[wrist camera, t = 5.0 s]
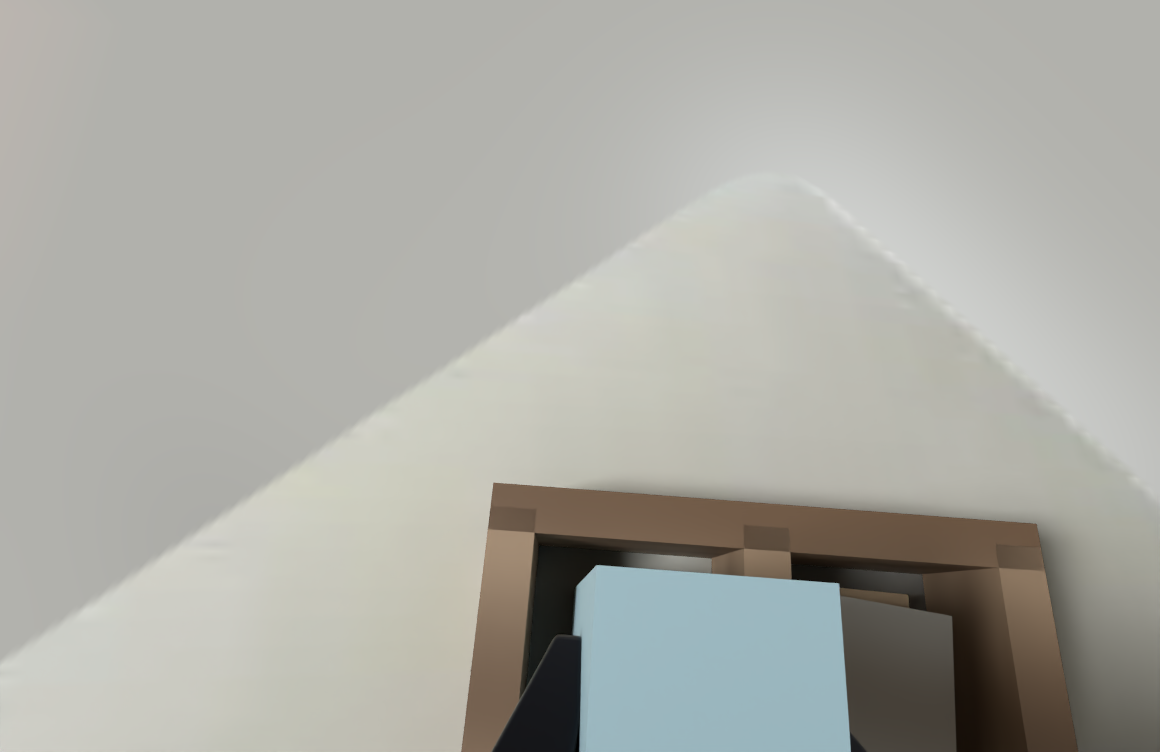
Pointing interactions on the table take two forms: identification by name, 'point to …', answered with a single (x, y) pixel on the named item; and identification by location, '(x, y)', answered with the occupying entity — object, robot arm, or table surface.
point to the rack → (767, 549)
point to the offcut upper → (899, 677)
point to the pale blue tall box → (709, 663)
